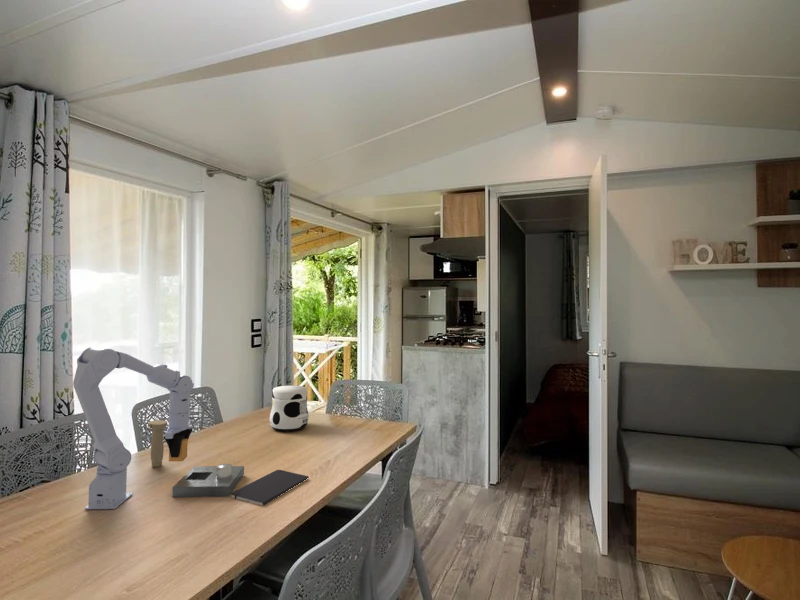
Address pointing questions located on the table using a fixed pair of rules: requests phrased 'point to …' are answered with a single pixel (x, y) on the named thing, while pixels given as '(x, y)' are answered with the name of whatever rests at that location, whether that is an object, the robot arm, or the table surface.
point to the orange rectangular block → (182, 452)
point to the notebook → (268, 487)
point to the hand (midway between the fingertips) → (178, 454)
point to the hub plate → (209, 481)
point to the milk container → (289, 408)
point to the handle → (157, 441)
